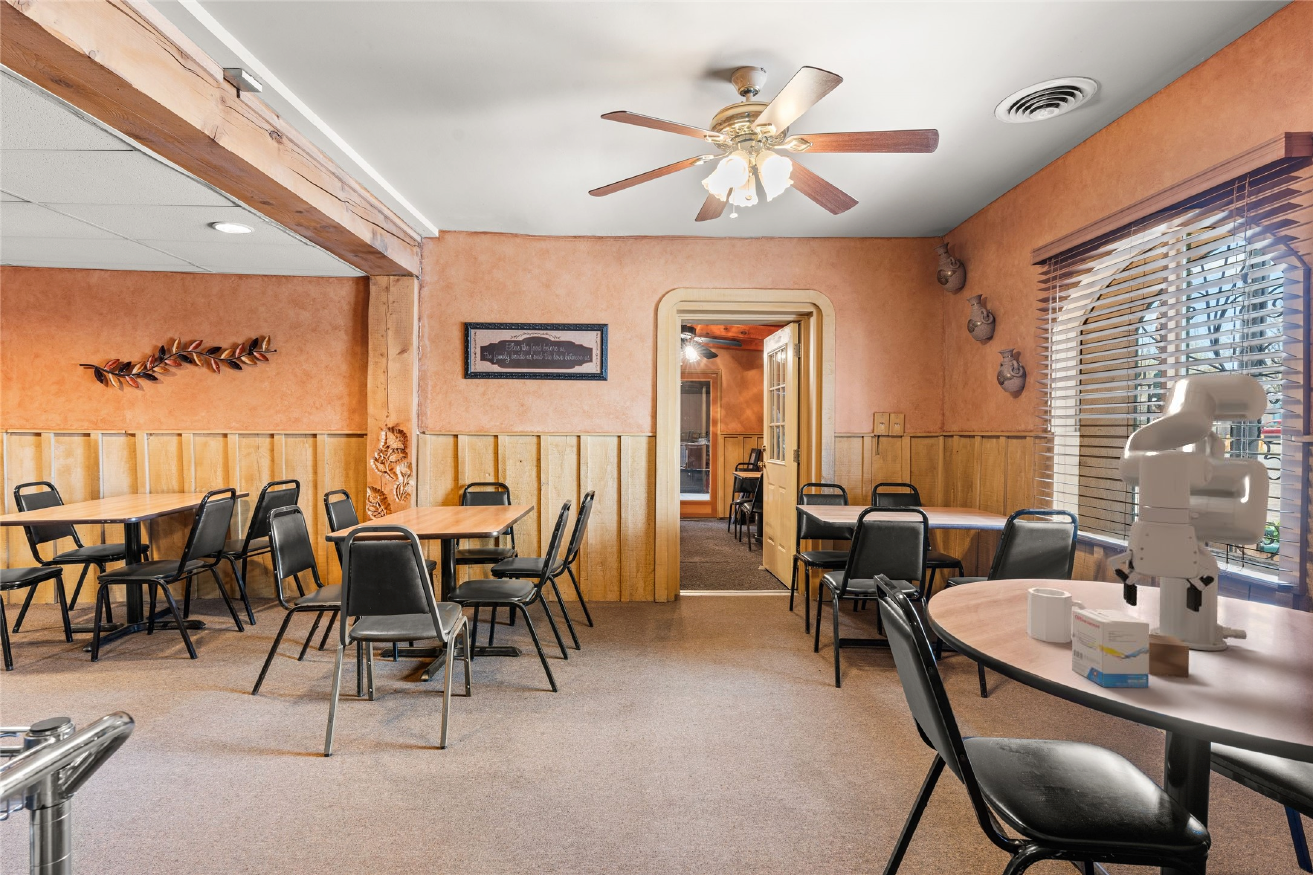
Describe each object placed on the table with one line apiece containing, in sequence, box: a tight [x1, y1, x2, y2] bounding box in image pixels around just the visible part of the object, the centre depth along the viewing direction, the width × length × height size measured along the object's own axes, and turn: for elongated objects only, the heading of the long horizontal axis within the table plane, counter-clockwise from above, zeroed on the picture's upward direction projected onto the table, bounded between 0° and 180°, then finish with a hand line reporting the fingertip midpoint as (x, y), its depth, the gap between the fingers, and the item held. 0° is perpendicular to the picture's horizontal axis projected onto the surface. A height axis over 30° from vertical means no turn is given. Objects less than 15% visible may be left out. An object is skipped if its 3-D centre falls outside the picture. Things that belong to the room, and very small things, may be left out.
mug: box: [1026, 587, 1088, 644], centre depth 136 cm, size 12×9×10 cm
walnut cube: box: [1149, 633, 1190, 679], centre depth 118 cm, size 6×6×6 cm
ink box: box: [1071, 608, 1150, 689], centre depth 114 cm, size 9×8×12 cm
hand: (1161, 607), depth 118 cm, fingers open, 9 cm apart
